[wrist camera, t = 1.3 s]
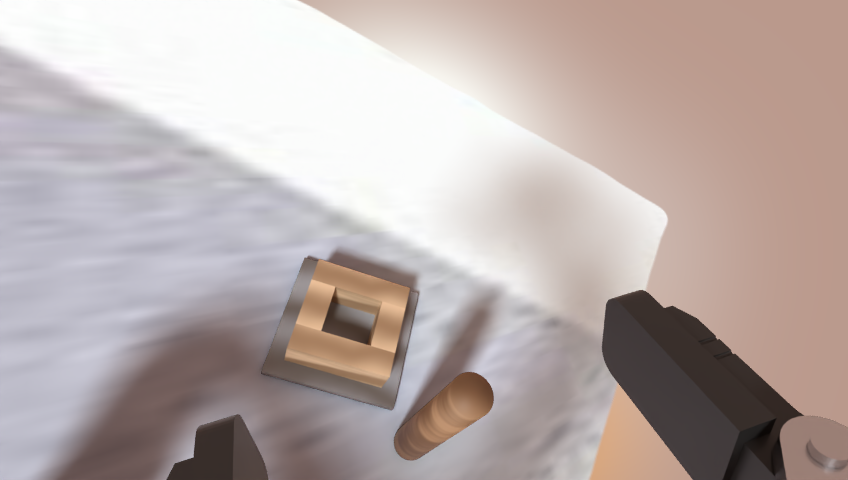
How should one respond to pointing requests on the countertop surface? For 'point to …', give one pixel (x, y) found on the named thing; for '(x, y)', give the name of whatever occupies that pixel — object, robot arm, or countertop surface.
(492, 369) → the countertop surface
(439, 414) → the peg
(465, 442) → the countertop surface
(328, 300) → the socket block
